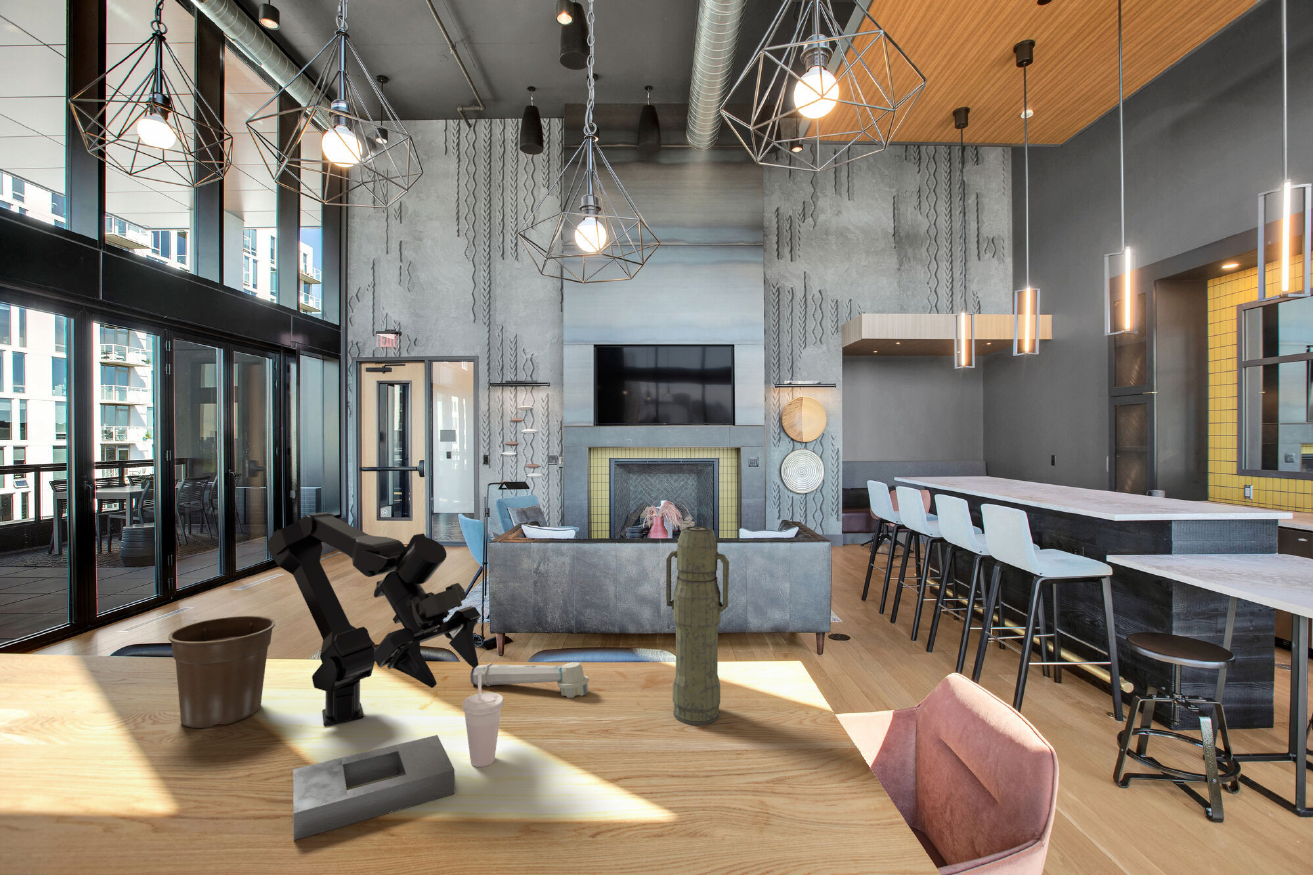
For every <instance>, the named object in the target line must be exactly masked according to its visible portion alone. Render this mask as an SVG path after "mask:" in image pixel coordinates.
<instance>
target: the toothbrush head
mask: <svg viewBox="0 0 1313 875" xmlns="http://www.w3.org/2000/svg"><path fill="white" fill-rule="evenodd" d="M478 673H482V686H487V687H488V686H489V688H490V687H491V686H495V685H499V686H500V685H516V684H517V685H519V684H537V683H539V684H540V683H556V684H557V686H558V687H559V692H560V695H561V696H562V697H565V696H566V698H568V699H569V698H571V699H572V698H573V699H574V698H575V696H580V697H582V696H584V695H586V694H587V693H588V692H589V689H588V688H589V687H588V683H589V682H590V679H589V676H587V675H585V673H584V669H583V666H582V665H581V663H580V662H576V661H575V662H567V663H565V664H563V665H544V664H543V665H542V664H541V665H539V664H538V665H537V664H536V665H535V664H531V665H530V664H528V665H527V664H493V662H490V663H488V664H480V665H479V664H478V666H477V667H476V668H473V667H471V671H470V675H469V676H470V683H471V684H472V685H473V686H478ZM490 685H491V686H490Z"/></svg>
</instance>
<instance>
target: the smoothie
mask: <svg viewBox="0 0 1313 875" xmlns="http://www.w3.org/2000/svg"><path fill="white" fill-rule="evenodd" d="M482 687H483V685H482V673H478V685H477V693H475V694H471V695H470V696H467V697H466V698H464V700H463V701H462V707H461V708H462V711H463V712H464V718H465V726H466V727H465V728H466V736H467V742H468V743H467V745H468V751H469V760H470V765H471V766H473V767H477V768H483V767H487V766H490V765H492V764H493V763H494V762H495V759H496V751H497V742H498V736H499V735H498V734H499V729H500V728H499V727H500V720H501V712H502V708H503V707H504V704H505V703H504V697H503V695H501V694H499V693H497V692H496V693H495V692H489V691H487V692H482Z"/></svg>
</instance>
